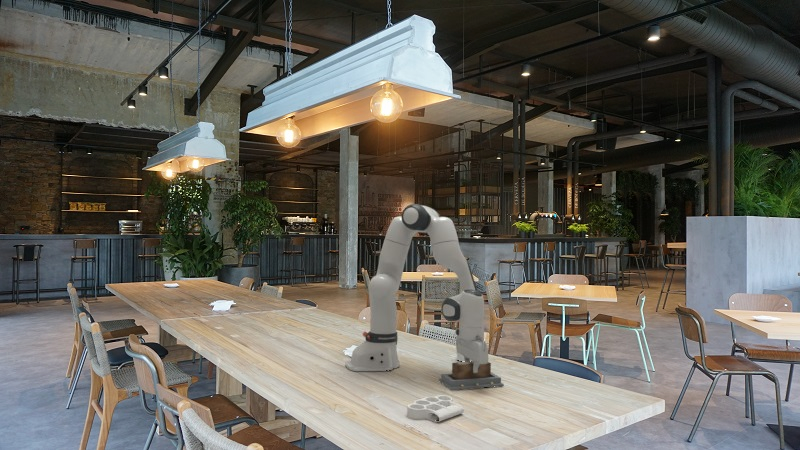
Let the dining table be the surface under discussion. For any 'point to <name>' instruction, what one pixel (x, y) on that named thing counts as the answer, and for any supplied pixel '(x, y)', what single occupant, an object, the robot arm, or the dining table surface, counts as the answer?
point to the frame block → (470, 370)
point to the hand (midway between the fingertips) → (471, 370)
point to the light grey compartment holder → (434, 408)
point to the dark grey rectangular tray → (470, 382)
